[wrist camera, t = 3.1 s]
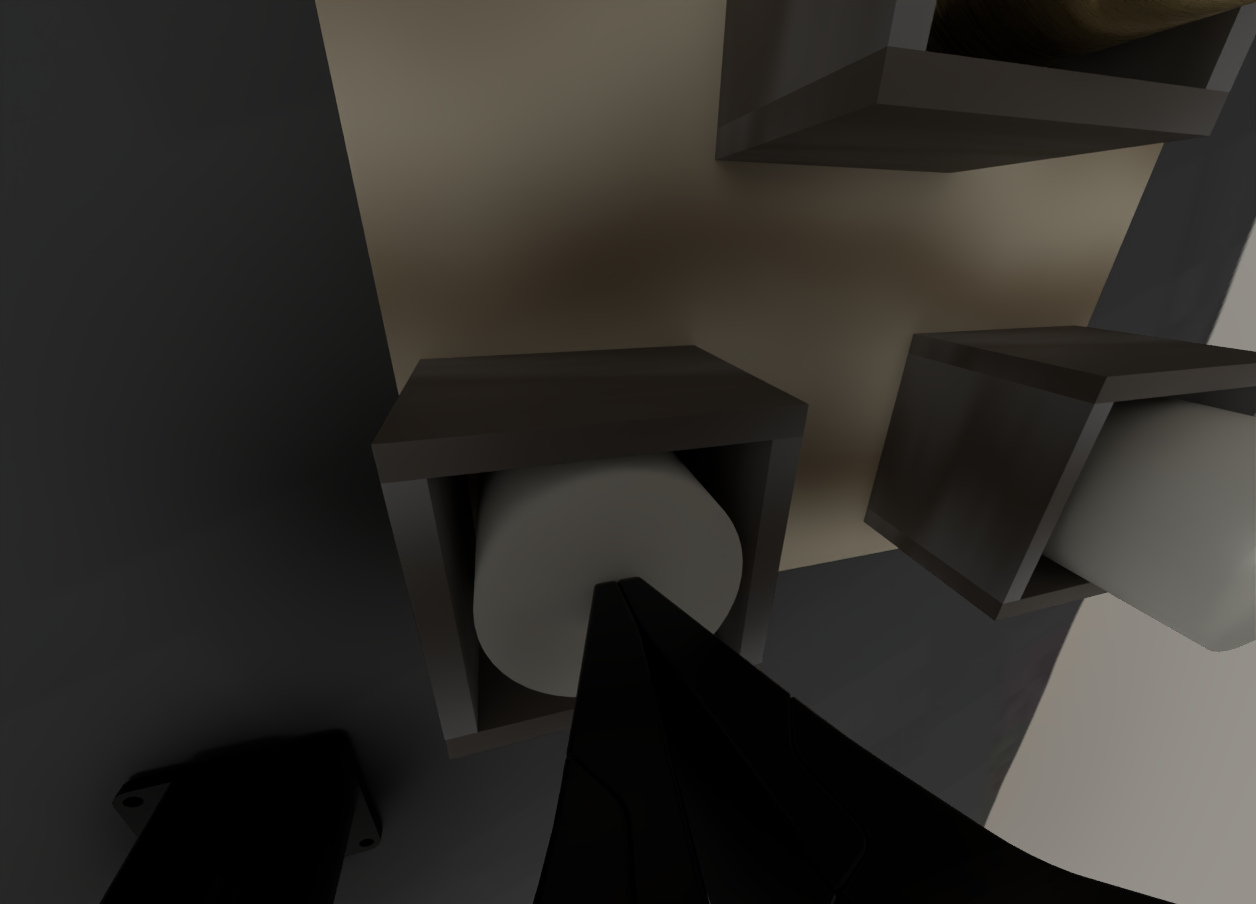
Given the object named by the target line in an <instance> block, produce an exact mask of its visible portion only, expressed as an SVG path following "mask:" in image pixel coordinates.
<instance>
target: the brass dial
mask: <svg viewBox="0 0 1256 904" xmlns="http://www.w3.org/2000/svg"><path fill="white" fill-rule="evenodd" d="M1255 2H1256V0H937V1H936V6H935V10H934V15H933V19H932V24H931V29H930V33H929V38H928V42H927V47H926V51H929V52H936V53H943V54H951V55H958V56H965V57H973V58H980V59H988V60H995V61H1002V62H1010V63H1017V64H1025V65H1032V66H1039V67H1047V66H1051V65H1054V64H1057V63H1060V62H1064V61H1067V60H1070V59H1073V58H1077V57H1080V56H1083V55H1086V54H1090V53H1093V52H1096V51H1099V50H1102V49H1106V48H1109V47H1112V46H1115V45H1119V44H1122V43H1125V42H1128V41H1132V40H1135V39H1138V38H1141V37H1145V36H1148V35H1151V34H1154V33H1157V32H1161V31H1164V30H1167V29H1170V28H1174V27H1177V26H1180V25H1183V24H1187V23H1190V22H1193V21H1196V20H1200V19H1203V18H1206V17H1209V16H1212V15H1216V14H1219V13H1222V12H1225V11H1229V10H1232V9H1235V8H1238V7H1242V6H1245V5H1248V4H1251V3H1255Z"/></svg>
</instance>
